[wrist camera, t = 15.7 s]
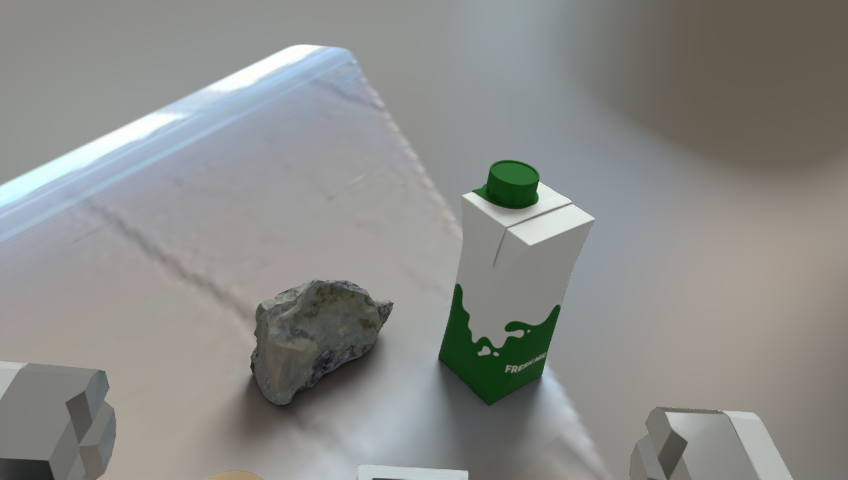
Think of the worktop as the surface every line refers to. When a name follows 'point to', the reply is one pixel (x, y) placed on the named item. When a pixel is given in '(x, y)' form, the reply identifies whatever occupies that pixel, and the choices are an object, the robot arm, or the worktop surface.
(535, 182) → the milk carton
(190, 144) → the worktop surface
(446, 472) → the open box
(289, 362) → the mineral rock
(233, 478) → the dowel
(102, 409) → the robot arm
